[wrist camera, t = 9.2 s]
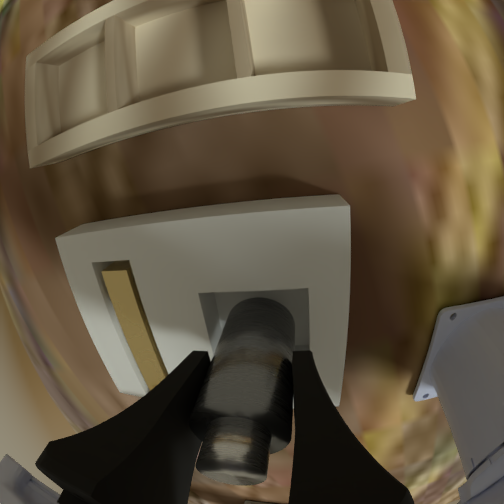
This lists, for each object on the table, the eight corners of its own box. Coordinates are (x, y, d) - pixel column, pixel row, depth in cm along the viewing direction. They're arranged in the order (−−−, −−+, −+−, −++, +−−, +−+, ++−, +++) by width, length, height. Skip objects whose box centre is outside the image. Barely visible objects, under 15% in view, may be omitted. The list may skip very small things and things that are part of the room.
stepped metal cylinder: (293, 295, 12) (286, 452, 5) (296, 351, 13) (290, 493, 6) (221, 298, 13) (158, 439, 6) (233, 352, 14) (193, 484, 7)
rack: (364, -16, 8) (376, -40, 5) (393, 106, 10) (415, 98, 8) (53, 60, 11) (26, 56, 8) (59, 162, 13) (29, 168, 11)
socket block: (339, 194, 12) (349, 205, 10) (335, 375, 16) (339, 405, 13) (82, 224, 14) (55, 237, 12) (134, 369, 18) (120, 392, 16)
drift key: (162, 252, 14) (125, 286, 10) (206, 399, 18) (192, 441, 14) (109, 256, 14) (67, 286, 11) (161, 394, 18) (143, 432, 15)
